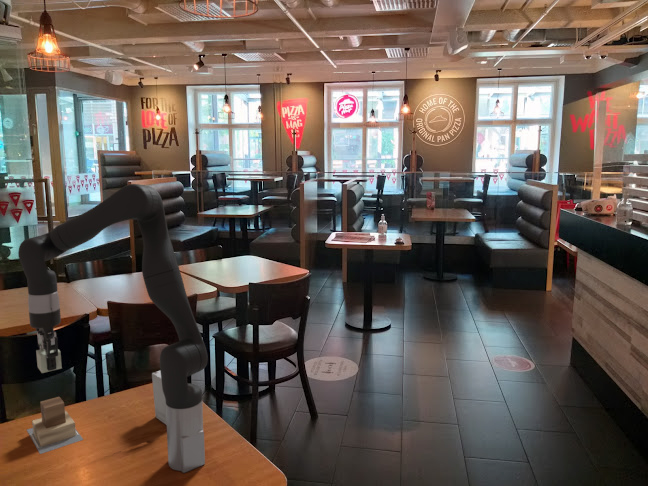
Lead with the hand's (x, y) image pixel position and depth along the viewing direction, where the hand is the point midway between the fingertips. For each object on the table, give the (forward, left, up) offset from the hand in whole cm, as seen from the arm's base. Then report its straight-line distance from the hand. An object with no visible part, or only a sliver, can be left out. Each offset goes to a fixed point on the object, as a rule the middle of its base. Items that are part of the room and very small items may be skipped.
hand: (49, 366), depth 143 cm
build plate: (0, 0, -21) cm, 21 cm away
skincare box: (-11, -29, -22) cm, 38 cm away
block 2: (0, 0, -17) cm, 17 cm away
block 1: (0, 0, 0) cm, 0 cm away
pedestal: (0, 0, -21) cm, 21 cm away
